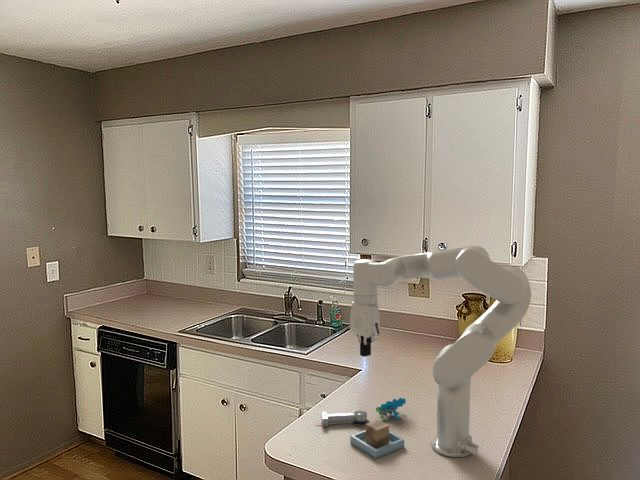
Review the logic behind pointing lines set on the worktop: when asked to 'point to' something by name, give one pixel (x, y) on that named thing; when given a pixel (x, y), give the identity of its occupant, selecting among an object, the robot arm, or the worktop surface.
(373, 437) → the block
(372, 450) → the tray
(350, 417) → the lever
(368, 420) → the pivot base
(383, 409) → the gear
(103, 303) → the worktop surface
